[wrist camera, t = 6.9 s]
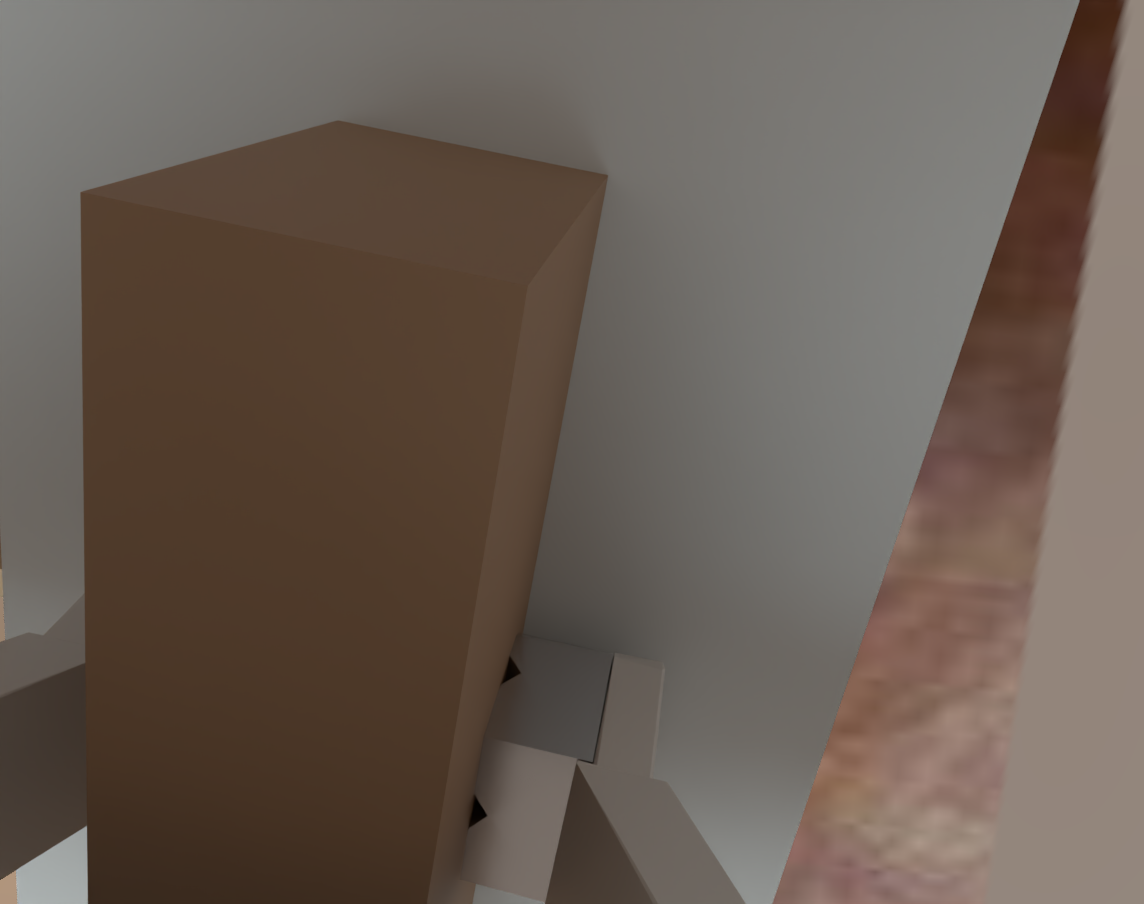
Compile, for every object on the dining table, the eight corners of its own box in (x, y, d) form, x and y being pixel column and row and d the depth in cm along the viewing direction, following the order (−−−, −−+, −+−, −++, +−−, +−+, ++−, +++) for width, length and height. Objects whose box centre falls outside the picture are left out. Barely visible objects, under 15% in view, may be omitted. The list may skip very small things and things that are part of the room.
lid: (110, -483, 10) (-781, -1201, 4) (1108, -312, 9) (1736, -846, 3) (109, 987, 17) (-195, 1467, 12) (654, 1124, 17) (617, 1697, 11)
